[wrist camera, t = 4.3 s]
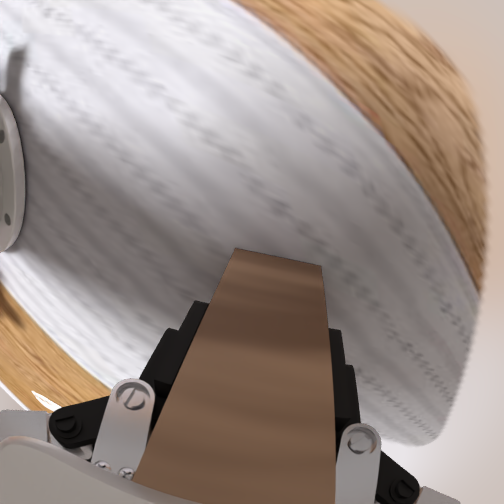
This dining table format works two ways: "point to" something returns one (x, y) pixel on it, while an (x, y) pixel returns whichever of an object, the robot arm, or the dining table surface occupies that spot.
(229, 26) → the dining table surface
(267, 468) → the brown block on rod
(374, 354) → the dining table surface
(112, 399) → the robot arm
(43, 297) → the dining table surface
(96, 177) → the dining table surface
